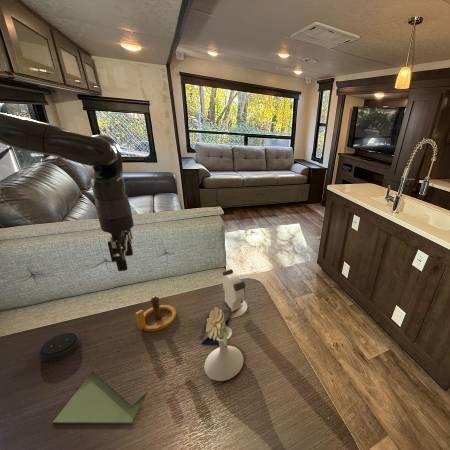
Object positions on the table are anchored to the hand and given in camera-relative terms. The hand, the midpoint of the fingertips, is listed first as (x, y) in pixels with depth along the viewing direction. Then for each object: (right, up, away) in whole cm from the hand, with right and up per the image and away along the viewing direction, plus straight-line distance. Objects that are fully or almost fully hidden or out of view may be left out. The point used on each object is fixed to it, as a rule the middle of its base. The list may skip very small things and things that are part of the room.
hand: (126, 262), depth 74 cm
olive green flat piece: (+2, -34, -9) cm, 35 cm away
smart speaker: (-20, -28, +1) cm, 34 cm away
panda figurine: (+26, -22, +24) cm, 42 cm away
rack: (+1, -24, +15) cm, 28 cm away
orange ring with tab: (+2, -22, +14) cm, 26 cm away
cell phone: (+23, -26, +14) cm, 37 cm away
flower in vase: (+29, -33, +1) cm, 44 cm away
